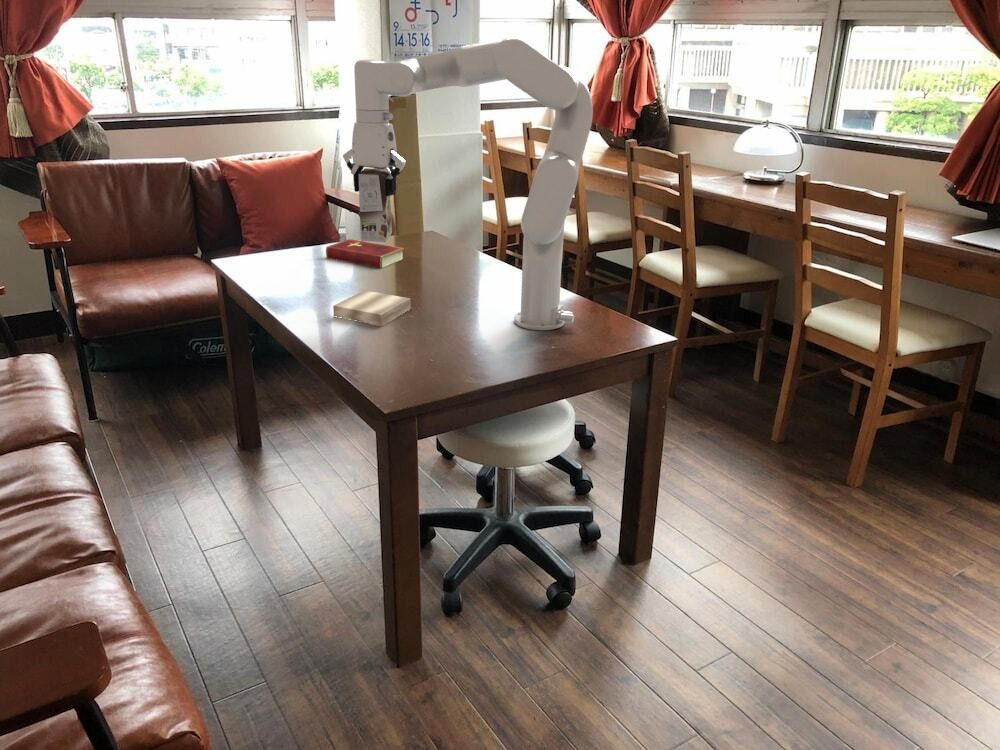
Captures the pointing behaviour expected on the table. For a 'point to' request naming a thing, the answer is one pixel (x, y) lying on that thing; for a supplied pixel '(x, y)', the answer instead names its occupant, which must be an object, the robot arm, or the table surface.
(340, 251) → the hardcover book
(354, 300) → the birch base
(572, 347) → the table surface
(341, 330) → the table surface
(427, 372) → the table surface
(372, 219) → the coffee box
